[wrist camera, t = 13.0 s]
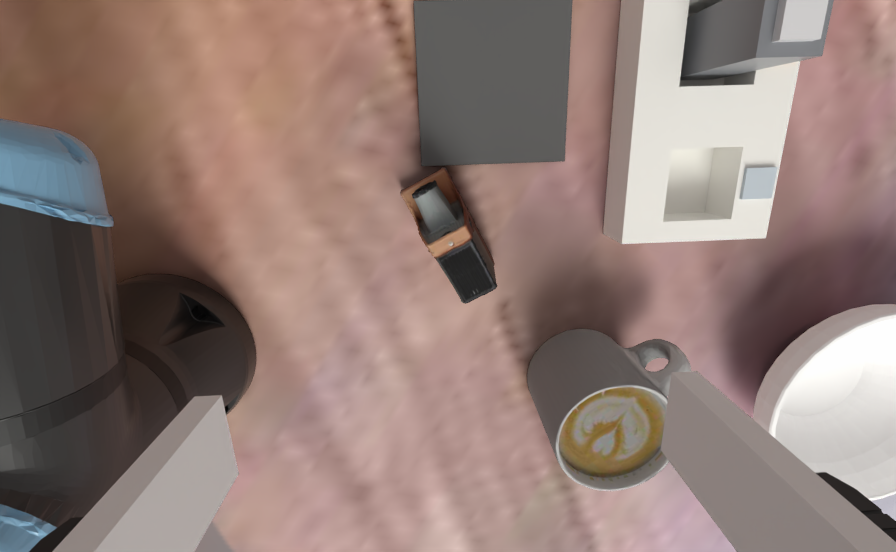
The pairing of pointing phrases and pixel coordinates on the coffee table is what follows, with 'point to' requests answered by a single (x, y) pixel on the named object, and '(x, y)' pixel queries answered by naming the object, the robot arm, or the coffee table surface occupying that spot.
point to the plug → (753, 36)
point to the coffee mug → (604, 406)
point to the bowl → (838, 398)
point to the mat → (492, 80)
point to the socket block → (689, 136)
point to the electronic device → (451, 235)
